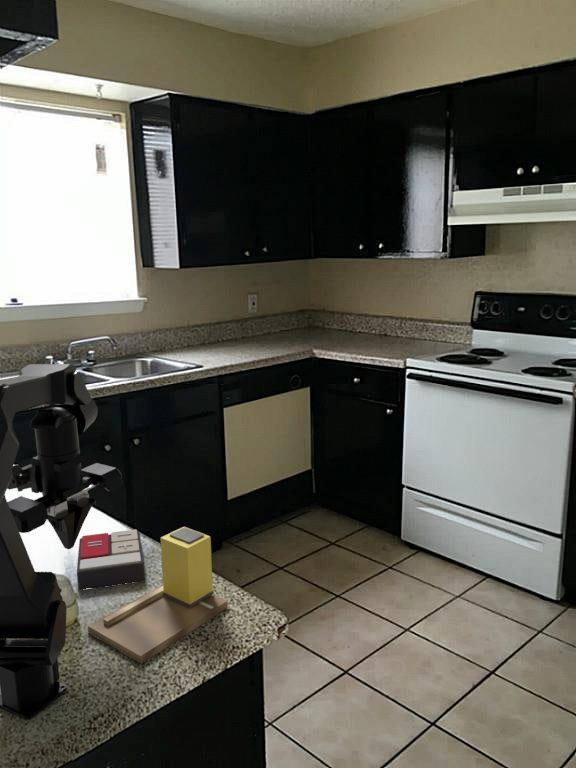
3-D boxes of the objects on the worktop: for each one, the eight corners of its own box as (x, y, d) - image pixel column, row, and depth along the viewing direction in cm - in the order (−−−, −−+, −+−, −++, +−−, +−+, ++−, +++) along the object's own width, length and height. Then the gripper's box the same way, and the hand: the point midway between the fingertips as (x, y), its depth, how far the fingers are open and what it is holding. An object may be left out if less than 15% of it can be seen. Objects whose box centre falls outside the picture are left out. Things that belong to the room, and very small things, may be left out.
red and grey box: (139, 526, 126) (143, 559, 112) (140, 547, 127) (145, 582, 113) (79, 534, 123) (76, 568, 109) (81, 555, 124) (78, 592, 110)
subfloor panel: (141, 663, 91) (140, 650, 91) (88, 632, 98) (87, 620, 98) (227, 607, 105) (227, 596, 104) (175, 584, 112) (174, 573, 111)
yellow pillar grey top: (190, 608, 102) (187, 547, 100) (162, 595, 106) (159, 535, 103) (213, 593, 106) (211, 534, 104) (186, 581, 110) (183, 524, 107)
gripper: (69, 423, 106) (78, 511, 110) (-37, 460, 91) (-22, 562, 95) (120, 434, 101) (128, 527, 105) (17, 476, 85) (31, 583, 89)
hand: (68, 547), depth 98 cm, fingers closed
